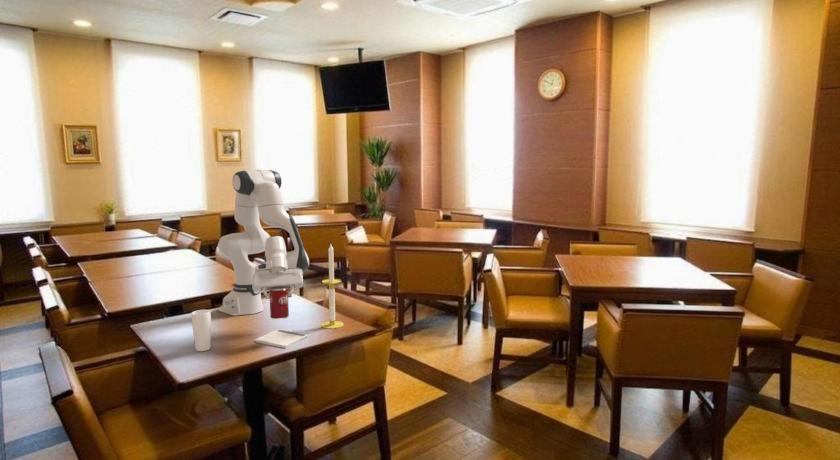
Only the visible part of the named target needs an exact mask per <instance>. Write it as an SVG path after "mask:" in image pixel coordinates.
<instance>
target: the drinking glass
mask: <svg viewBox="0 0 840 460" xmlns="http://www.w3.org/2000/svg"><path fill="white" fill-rule="evenodd" d="M211 314H212V313H211V310H210V309H198V310H194V311H192V312H191V325H192V326H191V327H192V332H193V338H194V345H195V348H194V349H195V351H196V352H205V351H208V350H210V349H211V331H212V316H211Z"/></svg>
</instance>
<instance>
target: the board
mask: <svg viewBox="0 0 840 460" xmlns="http://www.w3.org/2000/svg"><path fill="white" fill-rule="evenodd" d="M308 338H309V334H308V333H307V334H305V333H301V332H296V331H290V330H285V329H280V328H278V329H276V330H273V331H271V332H268V333H267V334H264V335H262V336H259V337H258V338H255V339H254V342H255V343H258V344H263V345H269V346H272V347H277V348H283V349H287V348H289V347H292V346H293V345H295V344H297V343H300V342H302V341H303V340H306V339H308Z"/></svg>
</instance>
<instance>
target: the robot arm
mask: <svg viewBox="0 0 840 460" xmlns="http://www.w3.org/2000/svg"><path fill="white" fill-rule="evenodd" d="M232 186H233V190H234V191H235V198H234V199H235V200H234V218H233V219H234V220H235V222H236V223H237V224H238V225H240V226H243V228H244V231H243V232H234V233H233V232H232V233H229V234H226V235H223V236H221V238H219V241H218V244H217V246H218V250H219V252H220V253H221V255H222V256H223V257H226V258H227V259H228V260H229V261H230V263H231V264H232V267H233V270H234V271H233V273H234V283H232V284H230V285H231V286H230V288H231V287H232V290H231V291H230V292H229V293H228V294H227V295H225V296H224V297H223V299H222V305H221V306H219V307H218V308H217V311H218V312H221V313H224V314H227V315H231V316H234V317H235V316H242V315H243V316H244V315H245V316H246V315H254V314H257V313H260V312H262V311H264V309H265V308H264V304H263V301H262V294H263V295H264V296H265V299H266V300H270V294H269V293H268V292H267V291H269V290H270V289H271V288H276V287H286V288H287V289H288V290H289V289H290V290H289V291H288V298H292V297H293V293H294V290H295V289H301V288H303V286H304V279H303V275H304V273H305V271H307V270H308V269H309V267H310V258H309V256H308V253H307V252H306V250H305V247H304V244H303V242H302V238H301V235H300V233H299V229H298V227H297V224H296V221H295V219H294V217H293V216H292V215H291V214H289V213H288V212H287V211H286V209H285V206H284V201H283V195H282V191H281V187H282V177H281V175H280V173H279V172H278V171H276V170H273V169H271V170H270V169H252V170H240V171H239V170H238V171H237V172H235V173H234V175H233V176H232ZM261 221H262V222H263V223H264V224H265V225H267V226H270V227H274V228H280V229H283V230H285V231H286V232H288V233H289V236H290V239H291V243H292V245H293V248H294V250H291V251H287V247H286V242H285V239H284V238H283V236H280V235H274V236H270V234H269V233H268V231H265V230H264V228H263V227H262V224H261ZM260 253H264V258H263V261H264V262H263V263H260V264H258V265H257V264H256V263H255V262H252V261H250V259H249V257H248V256H249V255H255V254H260ZM261 291H262V293H261Z"/></svg>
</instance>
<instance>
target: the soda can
mask: <svg viewBox="0 0 840 460" xmlns="http://www.w3.org/2000/svg"><path fill="white" fill-rule="evenodd" d="M268 292H269V294H270V299H269V316H270V318H271V320H275V321H277V320H285V319H288V318H289V316H290V311H289V309H290V308H289V307H290V306H289V297H288V292H289V289H287V288H286V287H276V288H271V289H270V290H268Z"/></svg>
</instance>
